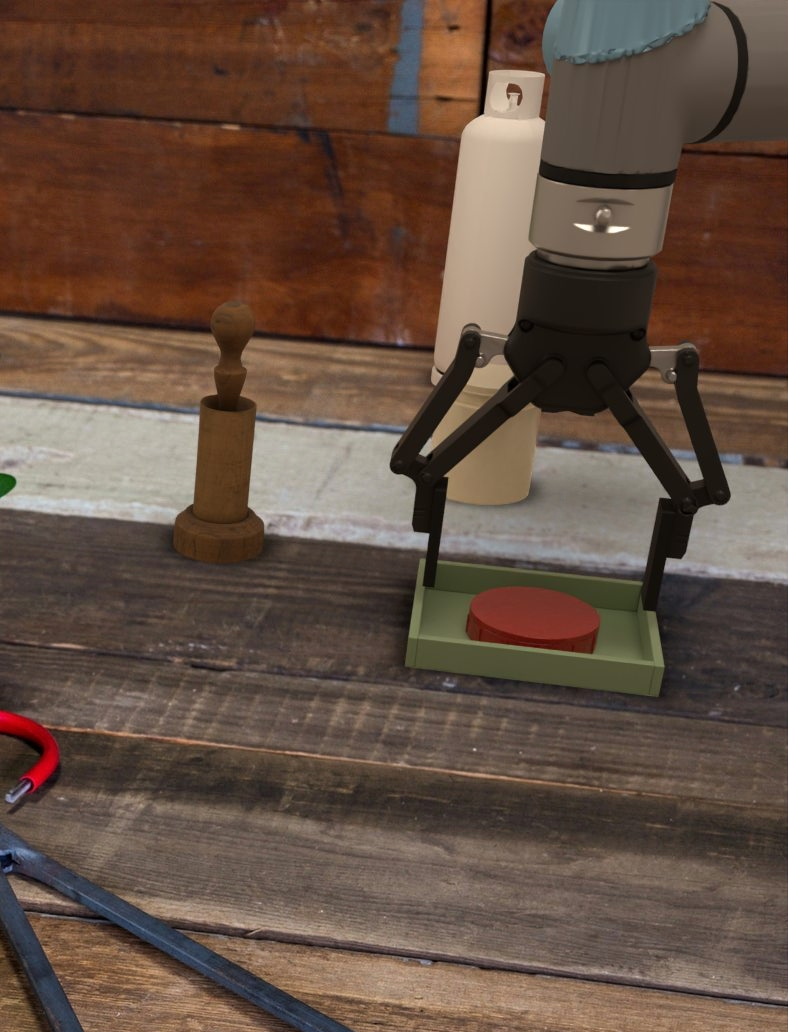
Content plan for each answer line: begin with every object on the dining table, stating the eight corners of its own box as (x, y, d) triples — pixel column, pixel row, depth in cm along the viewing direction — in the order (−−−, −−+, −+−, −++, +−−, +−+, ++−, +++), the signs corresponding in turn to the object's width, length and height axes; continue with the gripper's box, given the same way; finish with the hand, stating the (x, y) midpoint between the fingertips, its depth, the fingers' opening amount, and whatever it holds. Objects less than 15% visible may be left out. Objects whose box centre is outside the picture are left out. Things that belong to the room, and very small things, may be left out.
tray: (644, 616, 113) (650, 582, 112) (657, 703, 102) (665, 666, 101) (415, 591, 116) (420, 557, 115) (403, 673, 105) (408, 637, 104)
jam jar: (527, 480, 137) (545, 366, 132) (528, 515, 130) (547, 395, 125) (428, 471, 138) (442, 357, 134) (423, 504, 131) (438, 385, 127)
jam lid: (477, 602, 114) (481, 578, 113) (602, 623, 111) (607, 598, 110) (455, 650, 107) (459, 625, 106) (588, 674, 104) (592, 648, 103)
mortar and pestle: (258, 572, 119) (279, 319, 110) (167, 564, 120) (180, 312, 111) (265, 537, 124) (285, 294, 116) (178, 530, 125) (191, 288, 117)
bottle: (416, 390, 158) (454, 73, 145) (450, 370, 164) (491, 65, 151) (497, 406, 154) (545, 82, 141) (530, 386, 160) (578, 73, 147)
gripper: (370, 252, 97) (335, 591, 107) (831, 285, 92) (749, 637, 102) (380, 226, 103) (346, 548, 113) (811, 255, 98) (736, 589, 108)
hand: (537, 591), depth 107 cm, fingers open, 13 cm apart
